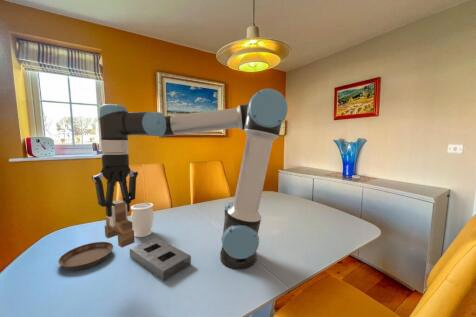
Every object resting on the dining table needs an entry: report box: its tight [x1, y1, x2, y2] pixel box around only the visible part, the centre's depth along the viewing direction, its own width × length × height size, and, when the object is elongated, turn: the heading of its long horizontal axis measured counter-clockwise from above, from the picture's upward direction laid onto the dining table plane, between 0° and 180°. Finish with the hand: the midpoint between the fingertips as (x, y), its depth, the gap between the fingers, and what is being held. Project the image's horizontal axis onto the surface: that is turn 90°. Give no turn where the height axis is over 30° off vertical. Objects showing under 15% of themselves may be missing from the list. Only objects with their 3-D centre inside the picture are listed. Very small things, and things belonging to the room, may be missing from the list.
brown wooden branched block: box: [104, 199, 136, 248], centre depth 67 cm, size 12×4×13 cm, turn 54°
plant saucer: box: [58, 241, 114, 271], centre depth 81 cm, size 18×18×3 cm
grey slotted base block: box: [129, 237, 192, 282], centre depth 80 cm, size 24×12×4 cm, turn 53°
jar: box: [130, 202, 155, 238], centre depth 103 cm, size 11×10×15 cm
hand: (118, 223), depth 67 cm, fingers closed on brown wooden branched block, 3 cm apart
